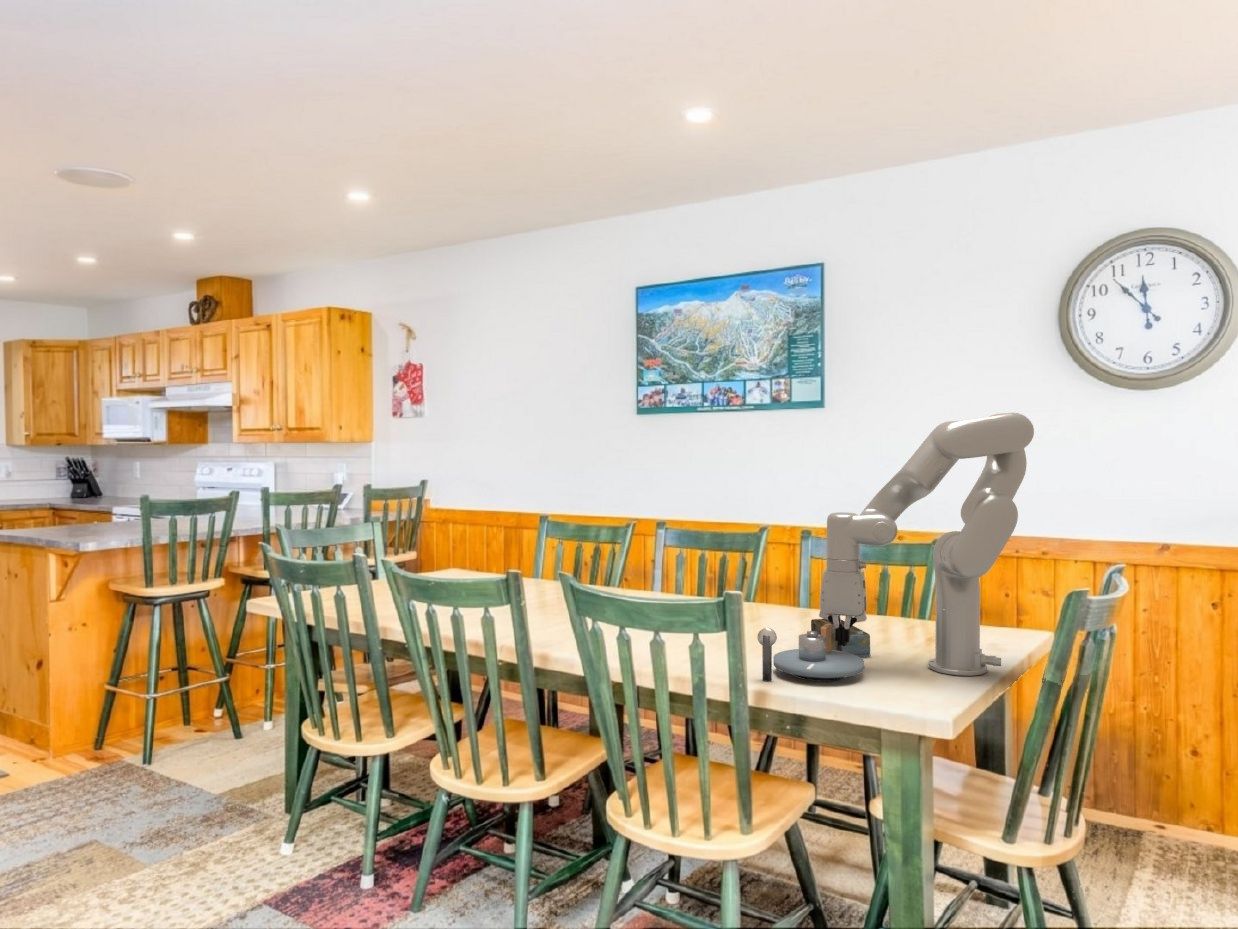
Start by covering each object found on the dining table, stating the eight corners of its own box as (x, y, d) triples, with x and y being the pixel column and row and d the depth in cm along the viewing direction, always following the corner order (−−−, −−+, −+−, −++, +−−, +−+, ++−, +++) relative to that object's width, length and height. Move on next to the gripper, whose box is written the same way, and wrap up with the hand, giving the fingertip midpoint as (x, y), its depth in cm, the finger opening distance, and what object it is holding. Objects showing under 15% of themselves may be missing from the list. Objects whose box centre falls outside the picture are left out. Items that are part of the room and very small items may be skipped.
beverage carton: (840, 660, 209) (840, 632, 208) (809, 642, 227) (809, 617, 227) (871, 658, 210) (871, 631, 210) (838, 640, 229) (838, 616, 229)
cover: (827, 656, 198) (827, 630, 197) (823, 663, 192) (823, 636, 192) (801, 654, 200) (801, 628, 200) (796, 660, 194) (796, 634, 194)
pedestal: (850, 670, 198) (850, 663, 198) (839, 683, 187) (839, 676, 187) (798, 664, 204) (798, 658, 203) (785, 677, 193) (785, 670, 193)
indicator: (777, 680, 190) (777, 628, 190) (774, 682, 189) (774, 630, 188) (759, 678, 192) (759, 626, 192) (756, 680, 190) (756, 628, 190)
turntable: (872, 659, 200) (872, 627, 200) (854, 682, 182) (854, 646, 182) (787, 651, 209) (787, 620, 209) (762, 671, 191) (762, 637, 191)
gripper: (879, 566, 200) (878, 644, 201) (814, 562, 207) (813, 638, 207) (873, 570, 194) (872, 651, 194) (807, 566, 200) (806, 644, 201)
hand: (842, 644), depth 201 cm, fingers closed
